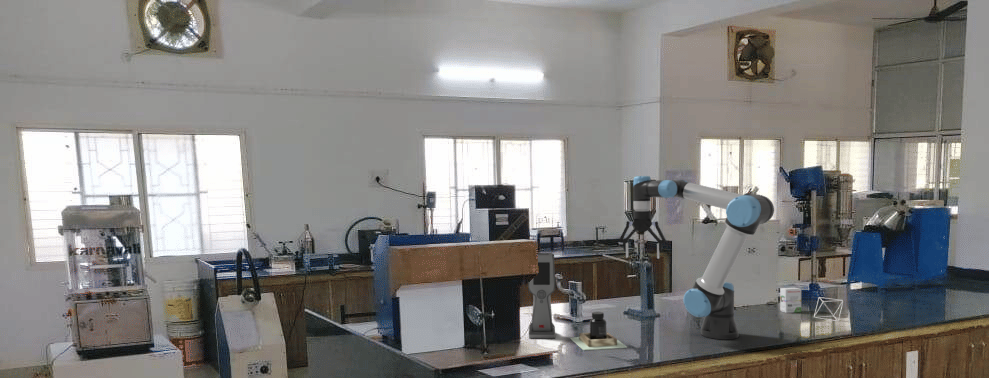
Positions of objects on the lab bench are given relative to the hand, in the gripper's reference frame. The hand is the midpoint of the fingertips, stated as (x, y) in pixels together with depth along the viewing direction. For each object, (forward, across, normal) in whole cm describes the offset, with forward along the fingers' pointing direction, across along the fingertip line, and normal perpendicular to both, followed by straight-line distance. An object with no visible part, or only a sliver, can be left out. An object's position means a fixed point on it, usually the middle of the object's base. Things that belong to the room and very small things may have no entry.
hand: (642, 257), depth 266 cm
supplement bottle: (+31, +15, +30) cm, 46 cm away
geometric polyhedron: (+32, -81, -46) cm, 98 cm away
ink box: (+32, -66, -56) cm, 92 cm away
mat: (+32, +15, +30) cm, 46 cm away
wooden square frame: (+32, +15, +30) cm, 46 cm away
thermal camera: (+32, +40, +25) cm, 57 cm away
